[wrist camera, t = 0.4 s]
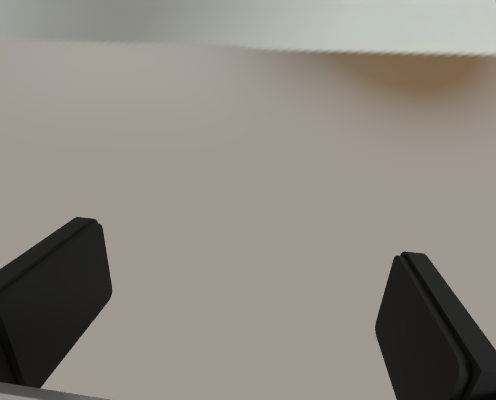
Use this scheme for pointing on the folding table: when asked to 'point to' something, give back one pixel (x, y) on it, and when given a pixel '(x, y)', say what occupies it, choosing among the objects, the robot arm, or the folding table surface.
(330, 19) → the folding table surface
